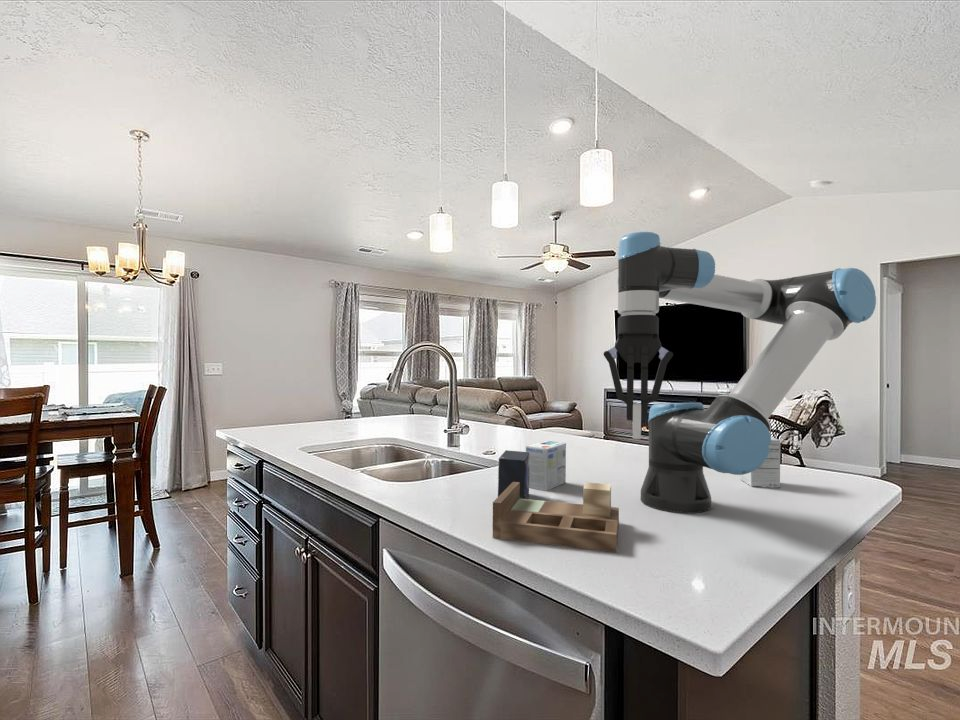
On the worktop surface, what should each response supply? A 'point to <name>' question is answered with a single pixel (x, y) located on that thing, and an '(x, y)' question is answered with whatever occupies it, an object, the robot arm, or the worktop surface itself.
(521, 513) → the tray
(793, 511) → the worktop surface
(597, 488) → the maple block
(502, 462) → the small box
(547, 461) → the light bulb box
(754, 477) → the supplement box
